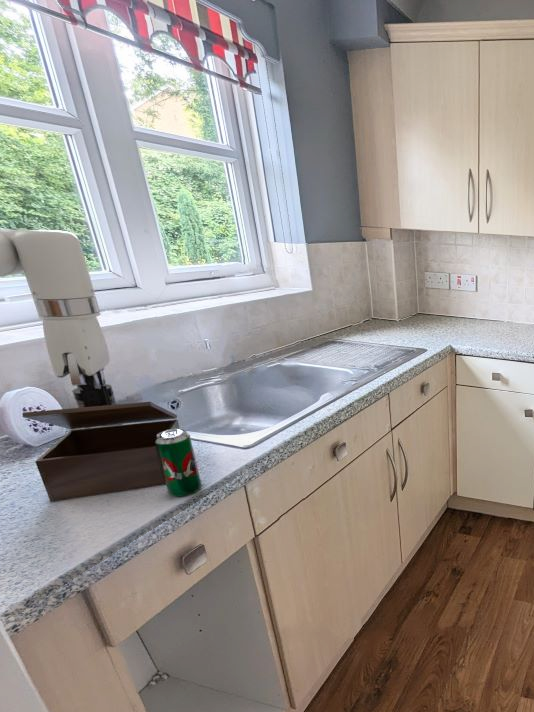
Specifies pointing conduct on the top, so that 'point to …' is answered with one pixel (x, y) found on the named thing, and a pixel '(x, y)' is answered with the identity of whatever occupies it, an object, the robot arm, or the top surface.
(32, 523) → the top surface
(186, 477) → the soda can
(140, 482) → the chest
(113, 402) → the supplement container
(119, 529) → the top surface
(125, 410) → the lid
